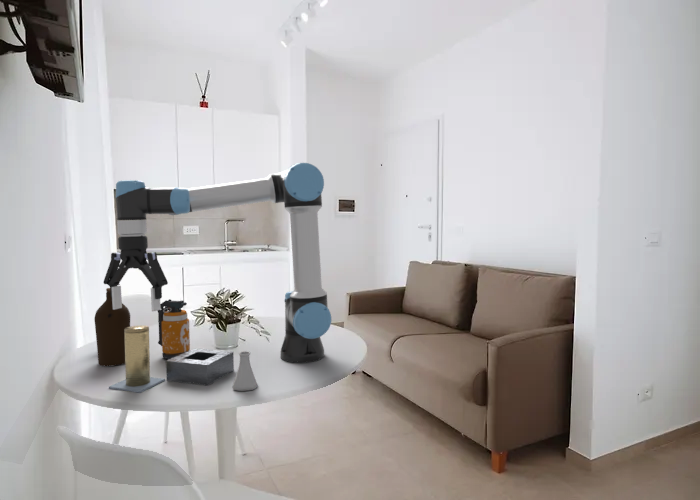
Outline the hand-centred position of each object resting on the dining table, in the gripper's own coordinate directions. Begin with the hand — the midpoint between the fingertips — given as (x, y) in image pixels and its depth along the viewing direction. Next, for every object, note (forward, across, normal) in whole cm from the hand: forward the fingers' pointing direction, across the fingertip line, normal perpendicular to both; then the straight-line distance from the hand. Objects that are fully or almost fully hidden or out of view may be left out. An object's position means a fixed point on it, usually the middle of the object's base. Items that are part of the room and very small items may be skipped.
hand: (136, 309), depth 131 cm
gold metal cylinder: (+21, 0, 0) cm, 21 cm away
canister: (+22, +9, -26) cm, 35 cm away
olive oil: (+22, +24, -15) cm, 35 cm away
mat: (+22, +1, 0) cm, 22 cm away
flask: (+23, -30, -7) cm, 38 cm away
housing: (+22, -12, -12) cm, 28 cm away
